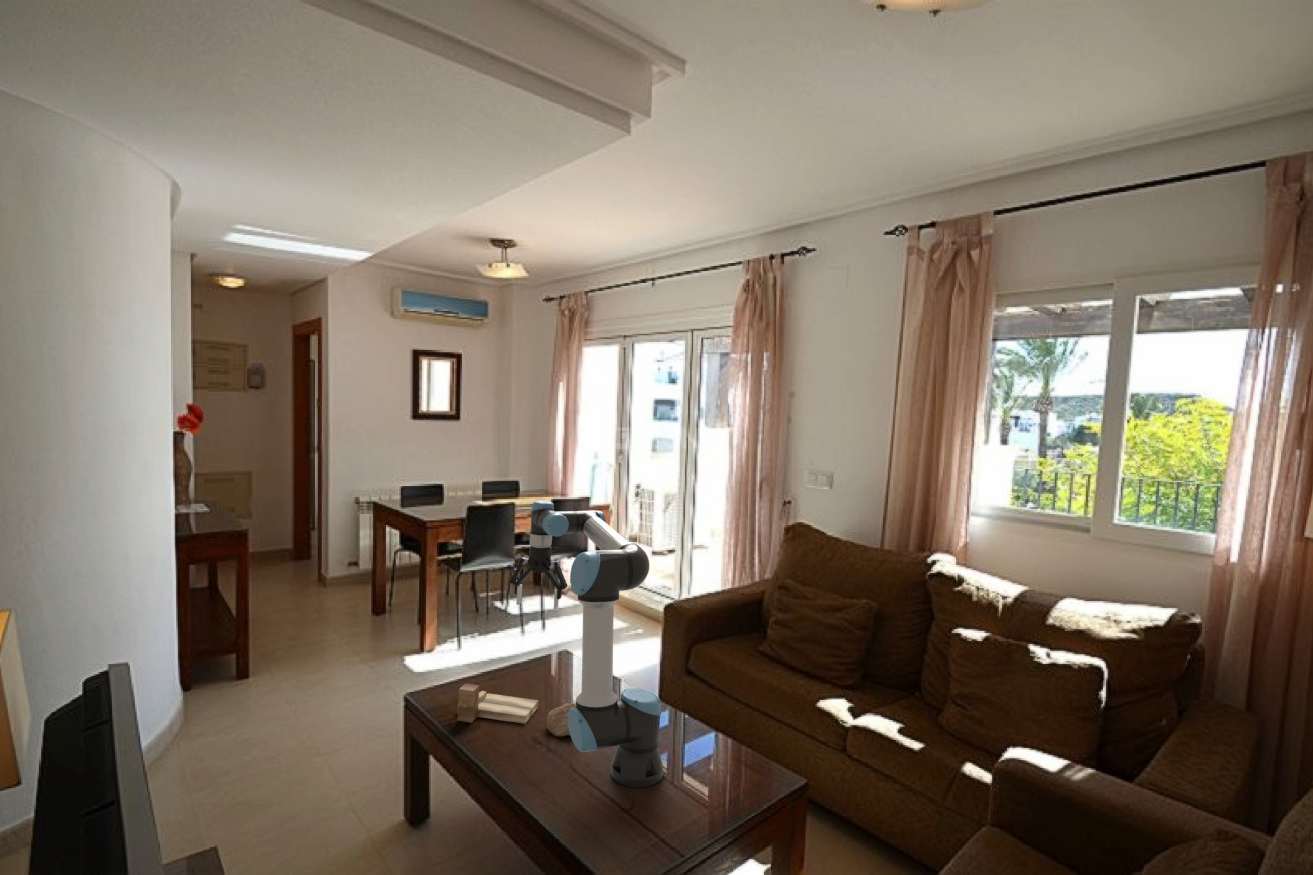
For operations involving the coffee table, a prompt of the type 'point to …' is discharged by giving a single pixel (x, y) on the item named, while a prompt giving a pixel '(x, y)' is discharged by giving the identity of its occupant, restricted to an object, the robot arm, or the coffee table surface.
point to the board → (506, 708)
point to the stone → (559, 720)
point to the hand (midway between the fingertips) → (537, 605)
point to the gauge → (469, 702)
